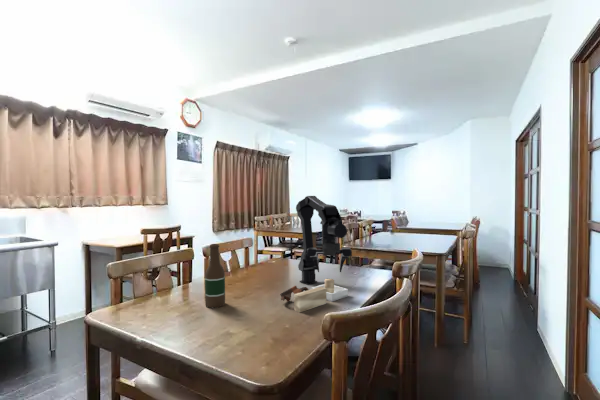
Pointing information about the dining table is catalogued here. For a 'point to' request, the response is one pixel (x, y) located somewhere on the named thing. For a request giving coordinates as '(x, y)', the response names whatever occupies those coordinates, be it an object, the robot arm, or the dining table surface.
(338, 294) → the tray
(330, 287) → the peg
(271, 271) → the dining table surface
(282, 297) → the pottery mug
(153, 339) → the dining table surface
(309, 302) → the block
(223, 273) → the beer bottle
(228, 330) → the dining table surface
